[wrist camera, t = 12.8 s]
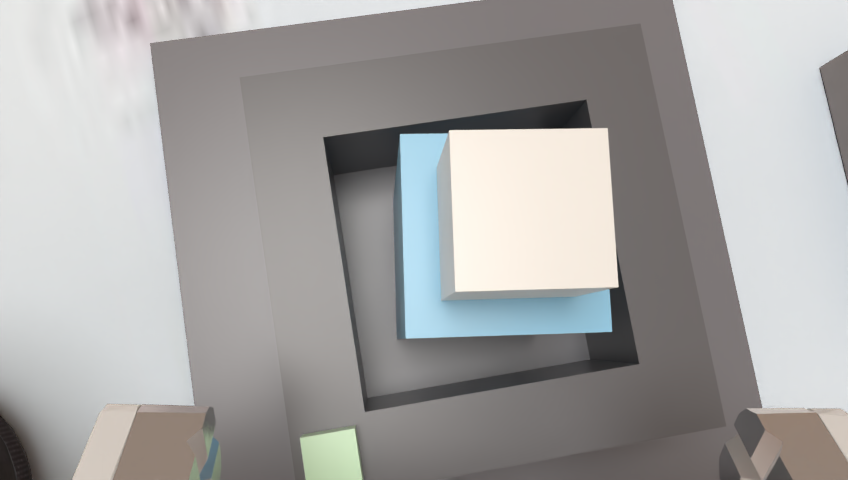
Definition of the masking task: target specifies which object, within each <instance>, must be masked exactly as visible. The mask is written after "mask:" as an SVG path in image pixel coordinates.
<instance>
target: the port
mask: <svg viewBox="0 0 848 480" xmlns="http://www.w3.org/2000/svg"><path fill="white" fill-rule="evenodd" d="M150 46H151V54H152V62H153V71H154V79H155V87H156V95H157V103H158V111H159V119H160V127H161V136H162V144H163V152H164V160H165V168H166V176H167V184H168V193H169V201H170V209H171V217H172V225H173V233H174V241H175V249H176V258H177V266H178V274H179V282H180V290H181V298H182V306H183V315H184V323H185V331H186V339H187V347H188V355H189V363H190V371H191V380H192V388H193V396H194V404H195V406H210V407H213V409H214V414H215V419H216V425H215V430H214V434H213V437H214V438H215V439H216V440H217V441H218V442H219V444H220V451H221V474H220V480H720V477H719V457H720V454H721V452H722V449H723V447H724V444H725V443H726V442H727V441H729V440H730V439H732V438H733V437H735V436H736V435H737V434H738V432H737V430H736V428H735V426H734V423H735V421H736V419H737V417H738V415H739V413H740V412H742V411H743V410H745V409H746V408H762V404H761V400H760V395H759V391H758V386H757V382H756V377H755V373H754V368H753V363H752V359H751V354H750V350H749V345H748V341H747V336H746V332H745V327H744V323H743V318H742V314H741V309H740V304H739V300H738V295H737V291H736V286H735V282H734V277H733V273H732V268H731V264H730V259H729V254H728V250H727V245H726V241H725V236H724V232H723V227H722V223H721V218H720V214H719V209H718V205H717V200H716V195H715V191H714V186H713V182H712V177H711V173H710V168H709V164H708V159H707V155H706V150H705V146H704V141H703V136H702V132H701V127H700V123H699V118H698V114H697V109H696V105H695V100H694V96H693V91H692V86H691V82H690V77H689V73H688V68H687V64H686V59H685V55H684V50H683V46H682V41H681V37H680V32H679V27H678V23H677V18H676V14H675V9H674V5H673V0H481V1H473V2H465V3H458V4H450V5H442V6H434V7H427V8H419V9H411V10H404V11H396V12H388V13H380V14H373V15H365V16H357V17H349V18H342V19H334V20H326V21H318V22H311V23H303V24H295V25H288V26H280V27H272V28H264V29H257V30H249V31H241V32H233V33H226V34H218V35H210V36H202V37H195V38H187V39H179V40H172V41H164V42H156V43H150ZM580 128H608V140H609V155H610V170H611V184H612V199H613V214H614V228H615V243H616V258H617V272H618V287H617V288H612V289H609V290H610V305H611V320H612V332H595V333H564V334H533V335H502V336H471V337H440V338H409V339H397V329H396V292H395V254H394V216H393V197H394V187H395V178H396V168H397V158H398V148H399V138H400V134H442V133H448V132H449V130H505V129H580Z"/></svg>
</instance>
